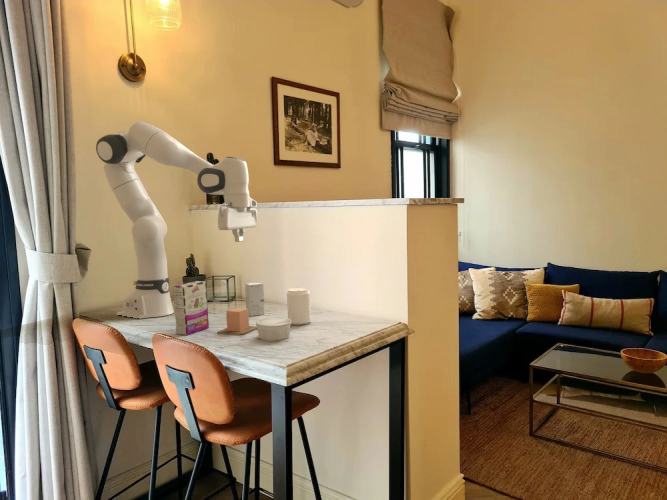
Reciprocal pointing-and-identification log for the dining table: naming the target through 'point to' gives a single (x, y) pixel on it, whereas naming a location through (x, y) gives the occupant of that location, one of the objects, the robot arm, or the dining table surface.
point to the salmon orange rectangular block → (237, 319)
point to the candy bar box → (191, 307)
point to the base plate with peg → (250, 329)
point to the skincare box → (254, 298)
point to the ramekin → (273, 328)
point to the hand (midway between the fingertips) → (239, 241)
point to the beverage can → (299, 306)
